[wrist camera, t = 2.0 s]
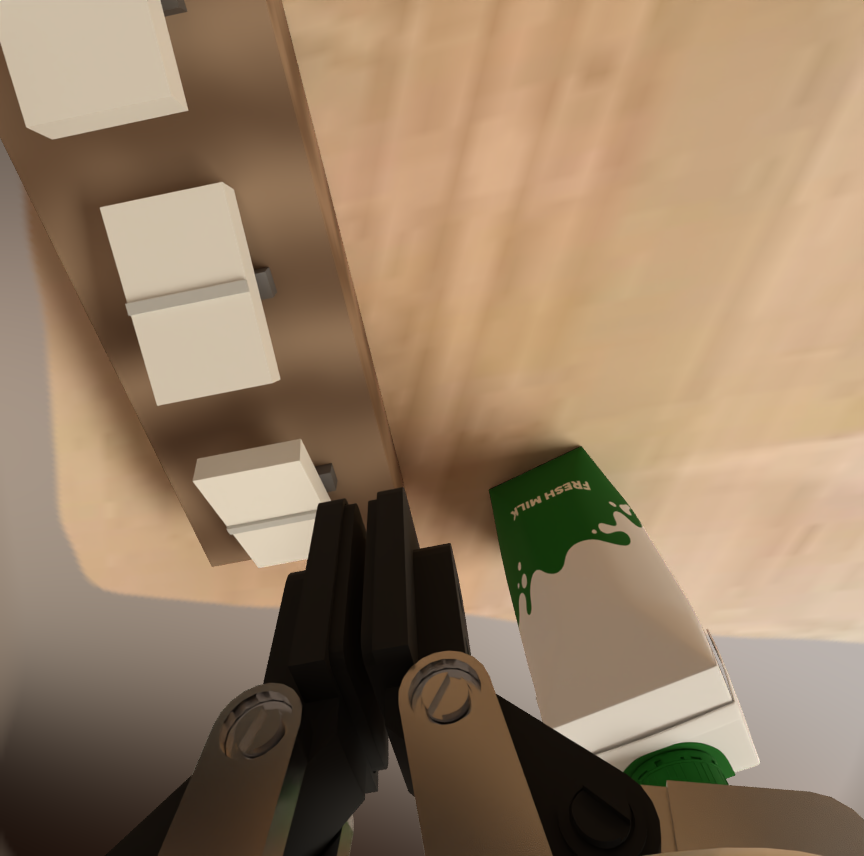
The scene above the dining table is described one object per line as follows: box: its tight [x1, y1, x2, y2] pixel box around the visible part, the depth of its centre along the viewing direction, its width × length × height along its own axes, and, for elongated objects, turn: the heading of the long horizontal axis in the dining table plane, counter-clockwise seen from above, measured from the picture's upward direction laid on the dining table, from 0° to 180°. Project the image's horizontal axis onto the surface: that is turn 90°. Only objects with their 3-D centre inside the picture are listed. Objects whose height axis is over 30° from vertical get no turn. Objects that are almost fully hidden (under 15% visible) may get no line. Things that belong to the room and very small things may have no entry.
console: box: [0, 0, 404, 567], centre depth 29 cm, size 32×12×6 cm, turn 10°
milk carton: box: [489, 446, 760, 787], centre depth 32 cm, size 9×9×20 cm
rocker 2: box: [100, 182, 281, 406], centre depth 25 cm, size 8×5×2 cm, turn 10°
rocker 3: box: [193, 439, 331, 568], centre depth 30 cm, size 8×5×2 cm, turn 11°
